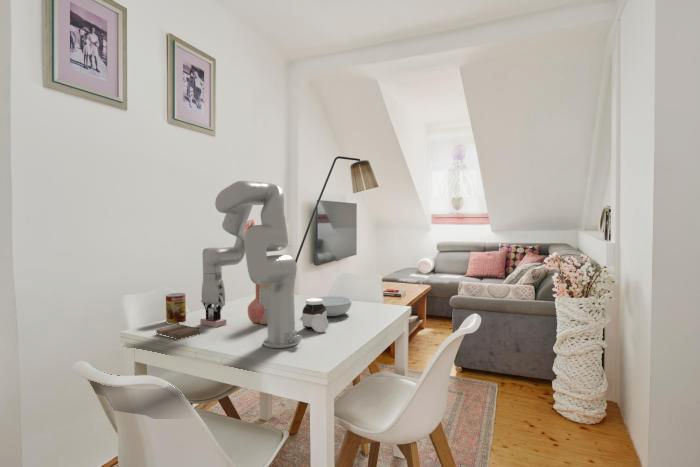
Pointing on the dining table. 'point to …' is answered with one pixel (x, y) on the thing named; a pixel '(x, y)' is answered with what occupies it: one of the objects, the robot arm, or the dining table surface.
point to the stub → (212, 319)
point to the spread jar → (315, 315)
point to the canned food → (175, 308)
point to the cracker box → (264, 301)
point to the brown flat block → (178, 331)
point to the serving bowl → (336, 304)
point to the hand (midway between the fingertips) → (213, 318)
